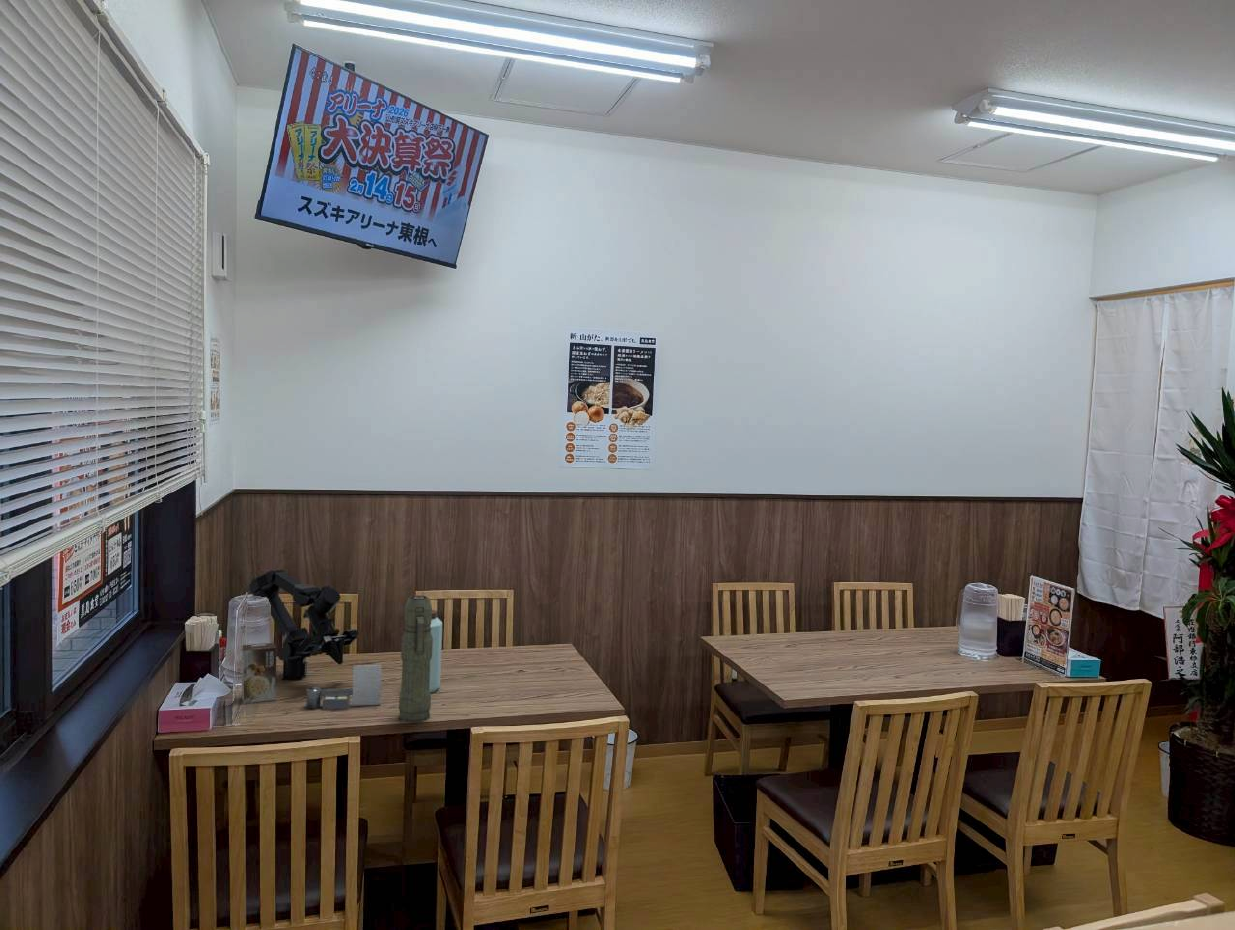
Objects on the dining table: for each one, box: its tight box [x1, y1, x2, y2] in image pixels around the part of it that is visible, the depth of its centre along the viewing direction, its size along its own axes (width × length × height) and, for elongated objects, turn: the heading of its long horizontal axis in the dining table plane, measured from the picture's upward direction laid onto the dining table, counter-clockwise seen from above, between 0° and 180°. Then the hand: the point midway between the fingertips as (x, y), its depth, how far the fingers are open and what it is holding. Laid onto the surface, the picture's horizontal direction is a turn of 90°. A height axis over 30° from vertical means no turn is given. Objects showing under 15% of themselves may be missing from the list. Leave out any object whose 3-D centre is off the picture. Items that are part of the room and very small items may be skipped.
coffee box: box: [241, 642, 277, 704], centre depth 249 cm, size 9×6×16 cm
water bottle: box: [429, 609, 443, 694], centre depth 265 cm, size 10×10×25 cm
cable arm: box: [305, 664, 383, 710], centre depth 247 cm, size 21×4×12 cm, turn 104°
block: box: [322, 695, 351, 711], centre depth 246 cm, size 7×4×3 cm, turn 99°
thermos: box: [398, 595, 433, 723], centre depth 240 cm, size 9×12×35 cm
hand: (340, 663), depth 256 cm, fingers closed
